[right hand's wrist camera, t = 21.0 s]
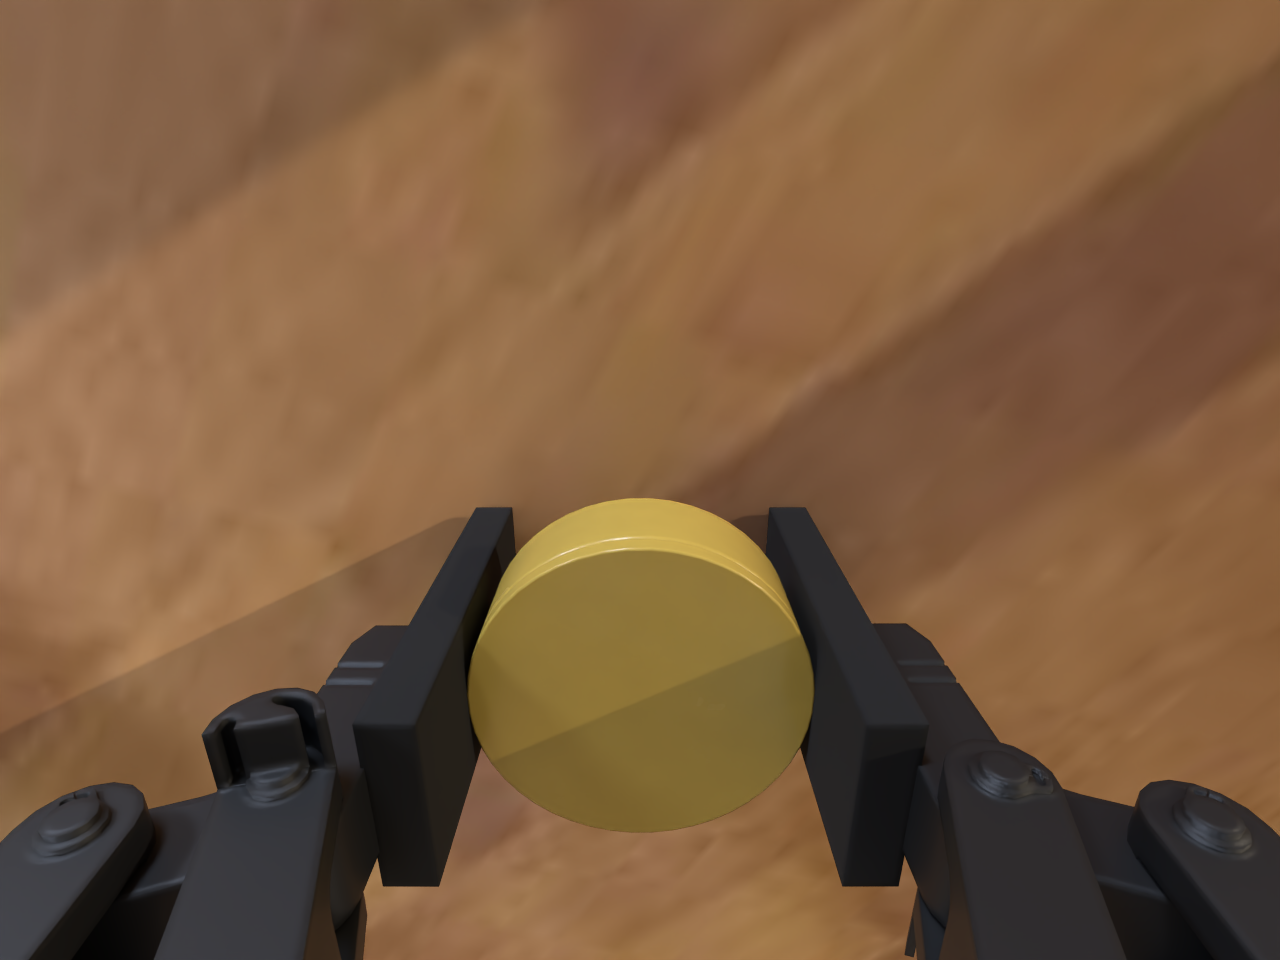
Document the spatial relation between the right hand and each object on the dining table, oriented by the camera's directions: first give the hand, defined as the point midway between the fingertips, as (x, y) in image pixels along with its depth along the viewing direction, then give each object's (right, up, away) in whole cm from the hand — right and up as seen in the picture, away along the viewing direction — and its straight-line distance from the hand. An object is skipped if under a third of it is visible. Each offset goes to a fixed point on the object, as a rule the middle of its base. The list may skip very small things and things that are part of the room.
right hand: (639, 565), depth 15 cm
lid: (0, -1, -4) cm, 4 cm away
